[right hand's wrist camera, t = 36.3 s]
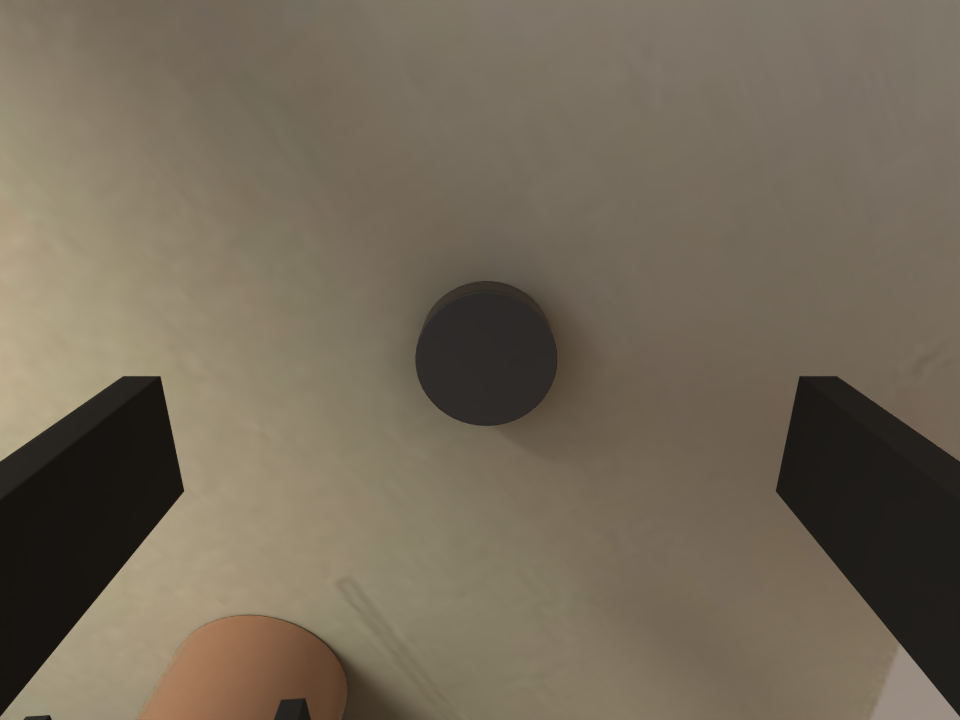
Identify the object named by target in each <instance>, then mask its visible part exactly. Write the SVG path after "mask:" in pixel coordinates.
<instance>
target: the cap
mask: <svg viewBox="0 0 960 720" xmlns="http://www.w3.org/2000/svg"><path fill="white" fill-rule="evenodd" d="M556 368H557V350H556V345H555V341H554V338H553V336H552V333H551V330H550V327H549V324H548V321H547V319H546V317H545V315H544V313H543V312H542V310H541V309H540V307H539V306H538V305H537V304H536V303H535V302H534V300H533V299H531V298H530V297H529V296H528V295H527V294H525V293H523V292H522V291H520V290H519V289H517V288H514V287H512V286H510V285H506V284H503V283H498V282H487V281H483V282H474V283H470V284H466V285H463V286H460V287H458V288H456V289H454V290H452V291H450V292H449V293H448V294H446V295H445V296H443V297H442V298H441V299H440V300H439V301H438V302H437V303H436V304H435V306H434V307H433V308H432V309H431V311H430V313H429V314H428V316H427V318H426V320H425V323H424V325H423V328H422V331H421V334H420V337H419V341H418V344H417V349H416V370H417V374H418V378H419V381H420V383H421V386H422V388H423V390H424V391H425V393H426V395H427V396H428V397H429V399H430V400H431V401H432V402H433V403H434V404H435V405H436V406H437V407H438V408H439V409H440V410H441V411H443V412H444V413H445V414H447V415H449V416H451V417H452V418H454V419H457V420H459V421H461V422H465V423H468V424H473V425H481V426H491V425H499V424H504V423H508V422H511V421H514V420H516V419H518V418H520V417H522V416H524V415H525V414H527V413H529V412H530V411H531V410H532V409H534V408H535V407H536V406H537V405H538V404H539V403H540V402H541V401H542V400H543V398H544V397H545V395H546V394H547V393H548V391H549V389H550V387H551V385H552V382H553V380H554V377H555V373H556Z"/></svg>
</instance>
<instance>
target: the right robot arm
mask: <svg viewBox="0 0 960 720" xmlns="http://www.w3.org/2000/svg"><path fill="white" fill-rule="evenodd" d="M183 492H184V488H183V483H182V478H181V473H180V469H179V464H178V459H177V454H176V449H175V444H174V440H173V435H172V430H171V425H170V420H169V415H168V411H167V406H166V401H165V396H164V391H163V386H162V382H161V377H160V376H123V377H121V378H120V379H119V380H117V381H116V382H114V383H113V384H111V385H110V386H109V387H107V388H106V389H104V390H103V391H101V392H100V393H98V394H97V395H96V396H94V397H93V398H91V399H90V400H88V401H87V402H85V403H84V404H83V405H81V406H80V407H78V408H77V409H75V410H74V411H73V412H71V413H70V414H68V415H67V416H65V417H64V418H62V419H61V420H60V421H58V422H57V423H55V424H54V425H52V426H51V427H49V428H48V429H47V430H45V431H44V432H42V433H41V434H39V435H38V436H37V437H35V438H34V439H32V440H31V441H29V442H28V443H26V444H25V445H24V446H22V447H21V448H19V449H18V450H16V451H15V452H13V453H12V454H11V455H9V456H8V457H6V458H5V459H3V460H2V461H1V462H0V716H1V715H2V714H3V713H4V711H5V710H6V709H7V708H8V706H9V705H10V704H11V703H12V702H13V700H14V699H15V698H16V697H17V695H18V694H19V693H20V692H21V690H22V689H23V688H24V687H25V686H26V684H27V683H28V682H29V681H30V679H31V678H32V677H33V676H34V675H35V673H36V672H37V671H38V670H39V668H40V667H41V666H42V665H43V664H44V662H45V661H46V660H47V659H48V657H49V656H50V655H51V654H52V652H53V651H54V650H55V649H56V648H57V646H58V645H59V644H60V643H61V641H62V640H63V639H64V638H65V637H66V635H67V634H68V633H69V632H70V630H71V629H72V628H73V627H74V626H75V624H76V623H77V622H78V621H79V619H80V618H81V617H82V616H83V615H84V613H85V612H86V611H87V610H88V608H89V607H90V606H91V605H92V603H93V602H94V601H95V600H96V599H97V597H98V596H99V595H100V594H101V592H102V591H103V590H104V589H105V588H106V586H107V585H108V584H109V583H110V581H111V580H112V579H113V578H114V577H115V575H116V574H117V573H118V572H119V570H120V569H121V568H122V567H123V565H124V564H125V563H126V562H127V561H128V559H129V558H130V557H131V556H132V554H133V553H134V552H135V551H136V550H137V548H138V547H139V546H140V545H141V543H142V542H143V541H144V540H145V539H146V537H147V536H148V535H149V534H150V532H151V531H152V530H153V529H154V527H155V526H156V525H157V524H158V523H159V521H160V520H161V519H162V518H163V516H164V515H165V514H166V513H167V512H168V510H169V509H170V508H171V507H172V505H173V504H174V503H175V502H176V501H177V499H178V498H179V497H180V496H181V494H182V493H183ZM776 492H777V493H778V494H779V496H780V497H781V498H782V499H783V501H784V502H785V503H786V504H787V505H788V507H789V508H790V509H791V510H792V512H793V513H794V514H795V515H796V516H797V518H798V519H799V520H800V521H801V523H802V524H803V525H804V526H805V527H806V529H807V530H808V531H809V532H810V534H811V535H812V536H813V537H814V539H815V540H816V541H817V542H818V543H819V545H820V546H821V547H822V548H823V550H824V551H825V552H826V553H827V554H828V556H829V557H830V558H831V559H832V561H833V562H834V563H835V564H836V565H837V567H838V568H839V569H840V570H841V572H842V573H843V574H844V575H845V577H846V578H847V579H848V580H849V581H850V583H851V584H852V585H853V586H854V588H855V589H856V590H857V591H858V592H859V594H860V595H861V596H862V597H863V599H864V600H865V601H866V602H867V603H868V605H869V606H870V607H871V608H872V610H873V611H874V612H875V613H876V615H877V616H878V617H879V618H880V619H881V621H882V622H883V623H884V624H885V626H886V627H887V628H888V629H889V630H890V632H891V633H892V634H893V635H894V637H895V638H896V639H897V640H898V641H899V643H900V644H901V645H902V646H903V648H904V649H905V650H906V651H907V652H908V654H909V655H910V656H911V657H912V659H913V660H914V661H915V662H916V664H917V665H918V666H919V667H920V668H921V670H922V671H923V672H924V673H925V675H926V676H927V677H928V678H929V679H930V681H931V682H932V683H933V684H934V686H935V687H936V688H937V689H938V690H939V692H940V693H941V694H942V695H943V697H944V698H945V699H946V700H947V702H948V703H949V704H950V705H951V706H952V708H953V709H954V710H955V711H956V713H957V714H958V715H959V716H960V462H959V461H958V460H957V459H955V458H954V457H952V456H951V455H949V454H948V453H947V452H945V451H944V450H942V449H941V448H939V447H938V446H936V445H935V444H934V443H932V442H931V441H929V440H928V439H926V438H925V437H923V436H922V435H921V434H919V433H918V432H916V431H915V430H913V429H912V428H911V427H909V426H908V425H906V424H905V423H903V422H902V421H900V420H899V419H898V418H896V417H895V416H893V415H892V414H890V413H889V412H887V411H886V410H885V409H883V408H882V407H880V406H879V405H877V404H876V403H875V402H873V401H872V400H870V399H869V398H867V397H866V396H864V395H863V394H862V393H860V392H859V391H857V390H856V389H854V388H853V387H851V386H850V385H849V384H847V383H846V382H844V381H843V380H841V379H840V378H839V377H837V376H800V377H799V382H798V386H797V391H796V396H795V401H794V406H793V411H792V415H791V420H790V425H789V430H788V435H787V440H786V444H785V449H784V454H783V459H782V464H781V469H780V473H779V478H778V483H777V488H776Z"/></svg>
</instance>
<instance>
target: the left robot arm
mask: <svg viewBox="0 0 960 720" xmlns="http://www.w3.org/2000/svg"><path fill="white" fill-rule="evenodd" d="M24 720H52V719H51V717H50V715H45V716H30V717H25V719H24ZM274 720H311V717H310V714H309V710H308V706H307V702H306V698H299V699H284V700H281V701H280V704H279V707H278V709H277V712H276V715H275V718H274Z"/></svg>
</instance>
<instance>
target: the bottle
mask: <svg viewBox="0 0 960 720" xmlns="http://www.w3.org/2000/svg"><path fill="white" fill-rule="evenodd" d="M347 691H348V688H347V681H346V677H345V674H344V670H343V668H342V666H341V664H340V662H339V660H338V659H337V658H336V656H335V655H334V653H333V652H332V651H331V650H330V649H329V648H328V646H327V645H325V644H324V643H323V642H322V641H321V640H320V639H319V638H317V637H316V636H314V635H313V634H311V633H310V632H308V631H306V630H304V629H303V628H301V627H299V626H296V625H294V624H292V623H289V622H286V621H283V620H279V619H276V618H271V617H265V616H255V615H240V616H232V617H227V618H223V619H218V620H216V621H213V622H210V623H208V624H206V625H204V626H202V627H200V628H199V629H197V630H196V631H194V632H193V633H192V634H190V635H189V636H188V637H187V638H186V639H185V640H184V641H183V642H182V644H181V645H180V647H179V648H178V650H177V651H176V653H175V654H174V656H173V658H172V659H171V661H170V663H169V664H168V666H167V668H166V669H165V671H164V673H163V674H162V676H161V678H160V679H159V681H158V683H157V684H156V686H155V687H154V689H153V691H152V692H151V694H150V696H149V697H148V699H147V701H146V702H145V704H144V706H143V707H142V709H141V711H140V712H139V714H138V716H137V717H136V719H135V720H274V718H275V715H276V712H277V709H278V707H279V704H280V701H281V700H284V699H299V698H306V702H307V706H308V710H309V714H310V717H311V720H342V718H343V713H344V709H345V705H346V701H347Z"/></svg>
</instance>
